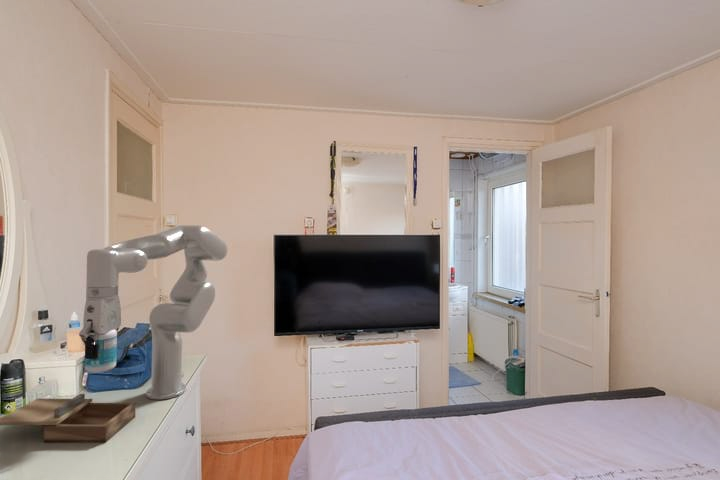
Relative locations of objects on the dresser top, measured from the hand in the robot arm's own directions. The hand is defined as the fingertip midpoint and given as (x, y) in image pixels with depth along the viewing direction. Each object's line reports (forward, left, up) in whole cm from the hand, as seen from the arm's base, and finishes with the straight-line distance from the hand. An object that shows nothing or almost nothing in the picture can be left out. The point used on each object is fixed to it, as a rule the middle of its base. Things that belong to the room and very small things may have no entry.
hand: (101, 353), depth 105 cm
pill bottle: (0, 0, -5) cm, 5 cm away
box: (0, -2, -22) cm, 22 cm away
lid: (0, -15, -17) cm, 22 cm away
